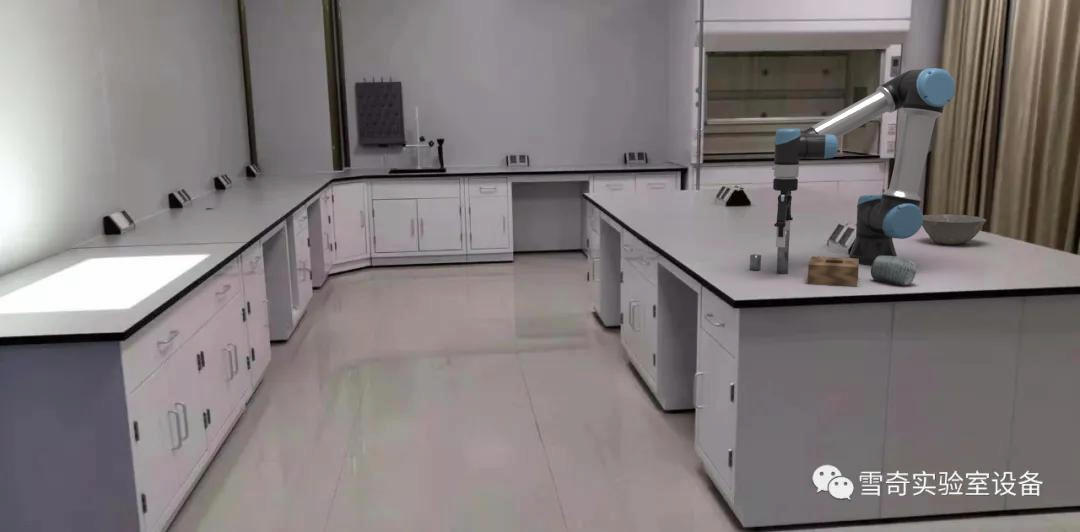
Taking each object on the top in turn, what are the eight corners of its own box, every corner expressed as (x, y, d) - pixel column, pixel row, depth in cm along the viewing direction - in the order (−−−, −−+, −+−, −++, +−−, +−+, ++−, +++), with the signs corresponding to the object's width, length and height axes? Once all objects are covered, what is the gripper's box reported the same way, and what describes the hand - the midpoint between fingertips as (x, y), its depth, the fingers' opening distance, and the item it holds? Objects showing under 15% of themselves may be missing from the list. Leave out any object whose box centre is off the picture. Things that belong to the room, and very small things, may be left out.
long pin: (788, 272, 266) (790, 230, 264) (787, 274, 263) (788, 231, 260) (777, 271, 268) (778, 229, 265) (776, 273, 264) (777, 231, 262)
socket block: (857, 277, 257) (858, 258, 255) (856, 286, 244) (857, 267, 243) (811, 274, 262) (812, 256, 261) (807, 283, 249) (808, 264, 248)
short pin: (761, 269, 272) (761, 254, 271) (759, 271, 269) (760, 256, 268) (750, 268, 274) (751, 254, 273) (749, 270, 270) (749, 255, 270)
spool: (858, 270, 252) (877, 242, 250) (876, 280, 257) (894, 253, 255) (891, 288, 240) (911, 260, 238) (909, 299, 245) (928, 271, 243)
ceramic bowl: (995, 248, 301) (998, 221, 299) (932, 249, 301) (934, 222, 299) (965, 238, 323) (967, 213, 321) (907, 239, 323) (908, 214, 321)
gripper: (778, 174, 272) (775, 237, 276) (768, 181, 249) (765, 249, 253) (801, 174, 269) (798, 238, 273) (794, 181, 247) (790, 250, 251)
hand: (782, 243), depth 263 cm, fingers open, 13 cm apart
